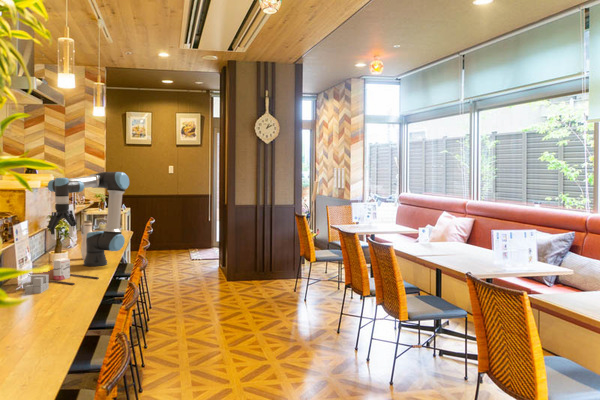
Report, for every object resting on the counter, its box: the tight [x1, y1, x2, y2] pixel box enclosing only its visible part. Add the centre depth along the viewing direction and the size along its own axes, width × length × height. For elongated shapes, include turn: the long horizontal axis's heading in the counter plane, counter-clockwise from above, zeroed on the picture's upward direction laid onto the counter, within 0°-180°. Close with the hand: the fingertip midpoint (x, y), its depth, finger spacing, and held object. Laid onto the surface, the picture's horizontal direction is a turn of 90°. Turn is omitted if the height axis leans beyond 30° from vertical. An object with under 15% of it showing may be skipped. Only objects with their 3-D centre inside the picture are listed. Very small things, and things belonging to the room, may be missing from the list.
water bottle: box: [80, 220, 94, 261], centre depth 388 cm, size 10×9×28 cm
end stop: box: [39, 267, 54, 280], centre depth 319 cm, size 20×2×6 cm, turn 158°
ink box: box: [53, 257, 71, 281], centre depth 317 cm, size 9×5×12 cm, turn 162°
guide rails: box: [48, 273, 100, 286], centre depth 315 cm, size 20×25×1 cm
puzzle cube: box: [22, 274, 50, 294], centre depth 285 cm, size 12×12×8 cm
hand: (62, 238), depth 320 cm, fingers open, 13 cm apart
